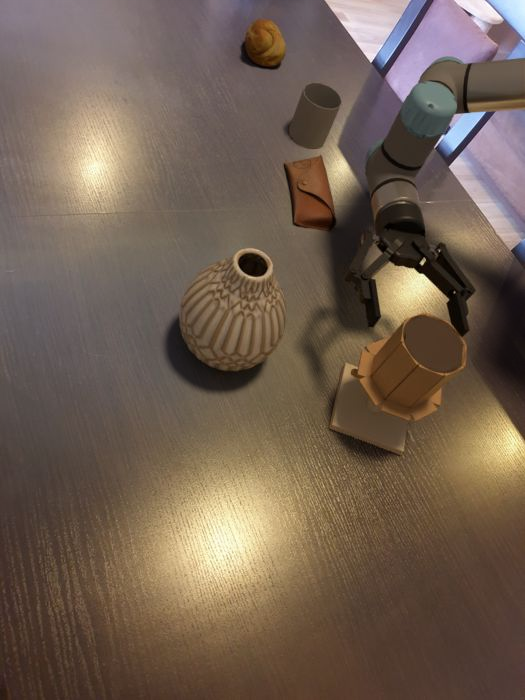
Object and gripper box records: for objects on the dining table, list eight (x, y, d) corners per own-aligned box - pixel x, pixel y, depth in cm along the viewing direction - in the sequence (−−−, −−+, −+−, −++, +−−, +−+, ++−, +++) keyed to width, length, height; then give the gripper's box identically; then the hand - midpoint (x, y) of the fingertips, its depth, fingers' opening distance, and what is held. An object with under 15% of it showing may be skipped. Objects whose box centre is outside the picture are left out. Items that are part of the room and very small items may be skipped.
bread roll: (241, 34, 138) (248, 1, 131) (279, 43, 140) (288, 10, 134) (243, 66, 131) (251, 32, 125) (283, 74, 134) (293, 42, 127)
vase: (203, 401, 84) (232, 329, 68) (155, 319, 90) (171, 233, 73) (288, 364, 92) (333, 291, 75) (240, 290, 97) (271, 207, 81)
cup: (307, 119, 127) (322, 78, 119) (332, 142, 125) (349, 102, 117) (281, 129, 123) (295, 88, 115) (306, 153, 121) (322, 113, 113)
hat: (443, 359, 87) (481, 323, 79) (436, 432, 79) (477, 401, 71) (365, 328, 86) (395, 289, 78) (351, 400, 78) (382, 365, 70)
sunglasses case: (281, 160, 117) (305, 139, 113) (303, 176, 121) (327, 157, 118) (293, 225, 108) (320, 205, 104) (316, 240, 112) (343, 222, 109)
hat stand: (411, 393, 95) (479, 329, 79) (403, 456, 88) (476, 401, 72) (338, 365, 94) (391, 294, 78) (324, 426, 87) (379, 363, 71)
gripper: (454, 246, 96) (481, 353, 85) (316, 220, 91) (326, 331, 79) (480, 215, 90) (512, 325, 79) (333, 185, 84) (346, 300, 73)
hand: (419, 329), depth 79 cm, fingers open, 13 cm apart
